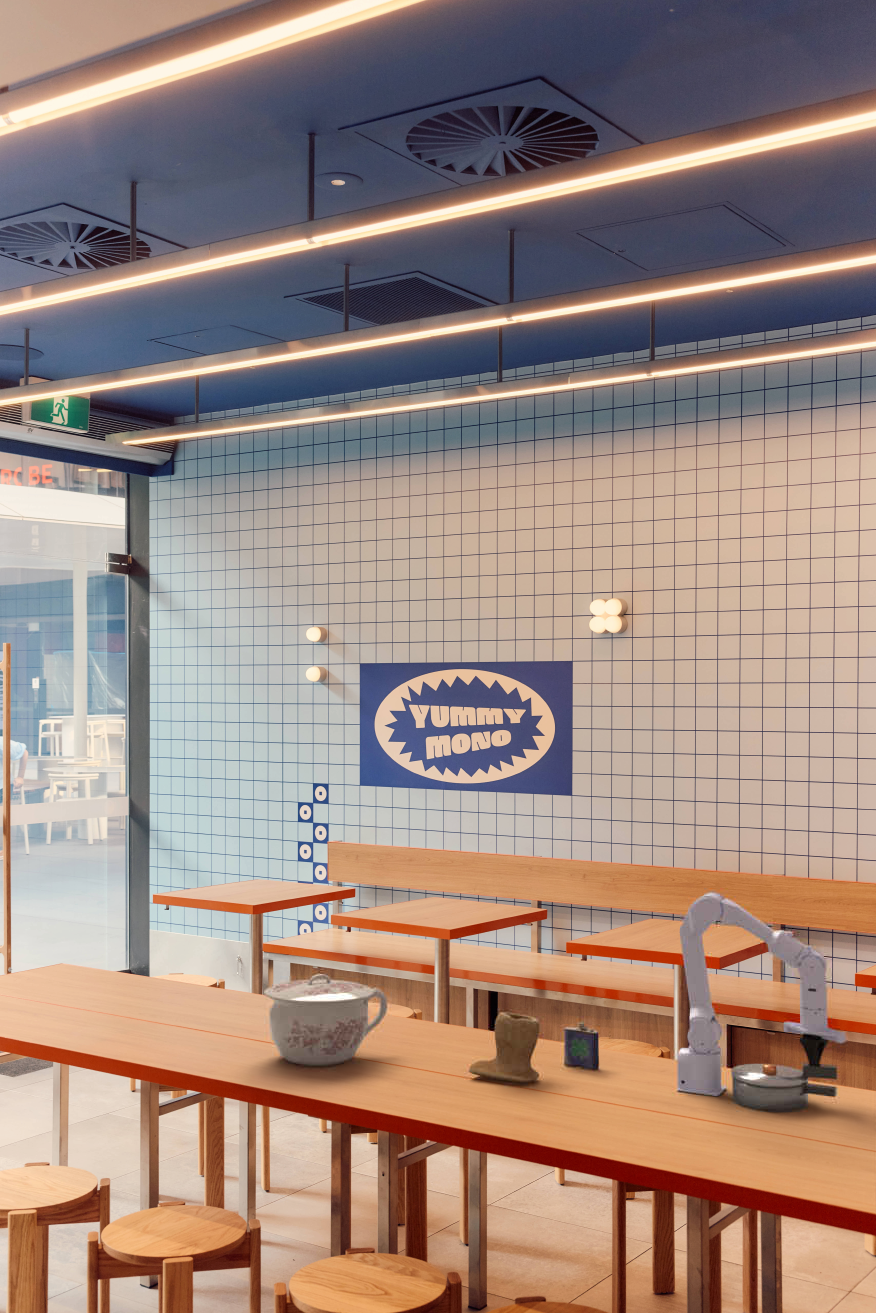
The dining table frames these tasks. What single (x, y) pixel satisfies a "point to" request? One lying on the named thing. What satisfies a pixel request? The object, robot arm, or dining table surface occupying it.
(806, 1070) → the cooker lid
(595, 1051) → the flask
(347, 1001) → the chamber pot
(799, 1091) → the cooker pot
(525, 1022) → the brown boot
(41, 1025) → the dining table surface
